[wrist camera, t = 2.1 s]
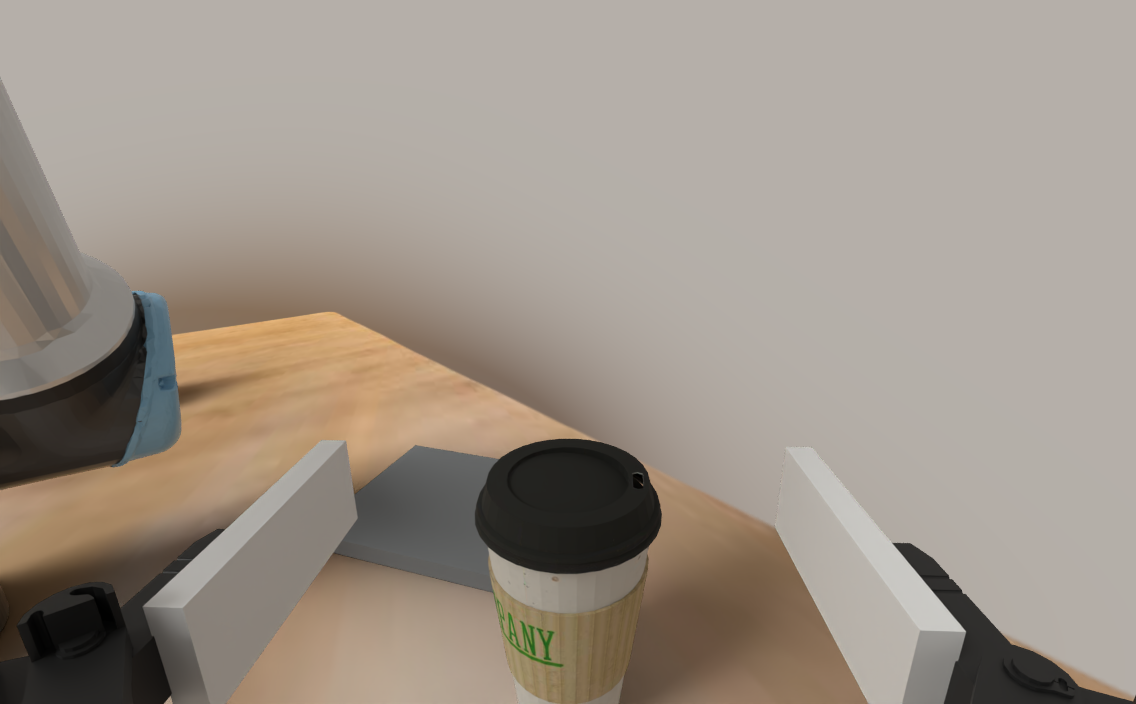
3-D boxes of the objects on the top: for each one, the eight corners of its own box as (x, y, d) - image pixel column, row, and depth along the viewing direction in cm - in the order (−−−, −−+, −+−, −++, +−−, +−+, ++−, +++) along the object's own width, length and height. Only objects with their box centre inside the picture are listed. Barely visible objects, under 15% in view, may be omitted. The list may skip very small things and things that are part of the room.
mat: (310, 547, 45) (307, 532, 44) (416, 457, 59) (415, 445, 59) (528, 601, 39) (528, 584, 38) (587, 486, 53) (587, 473, 53)
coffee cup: (506, 621, 37) (497, 429, 32) (646, 632, 36) (657, 437, 31) (466, 769, 28) (445, 530, 23) (654, 789, 27) (671, 544, 22)
